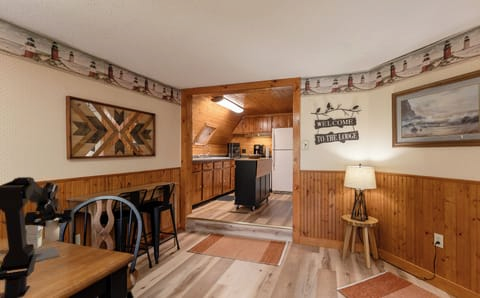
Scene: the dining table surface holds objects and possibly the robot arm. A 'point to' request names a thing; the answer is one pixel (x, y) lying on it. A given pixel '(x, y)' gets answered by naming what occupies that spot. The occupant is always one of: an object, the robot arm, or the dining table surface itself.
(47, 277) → the dining table surface
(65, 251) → the dining table surface
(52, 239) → the candle jar
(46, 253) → the placemat
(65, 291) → the dining table surface
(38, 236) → the syrup box
